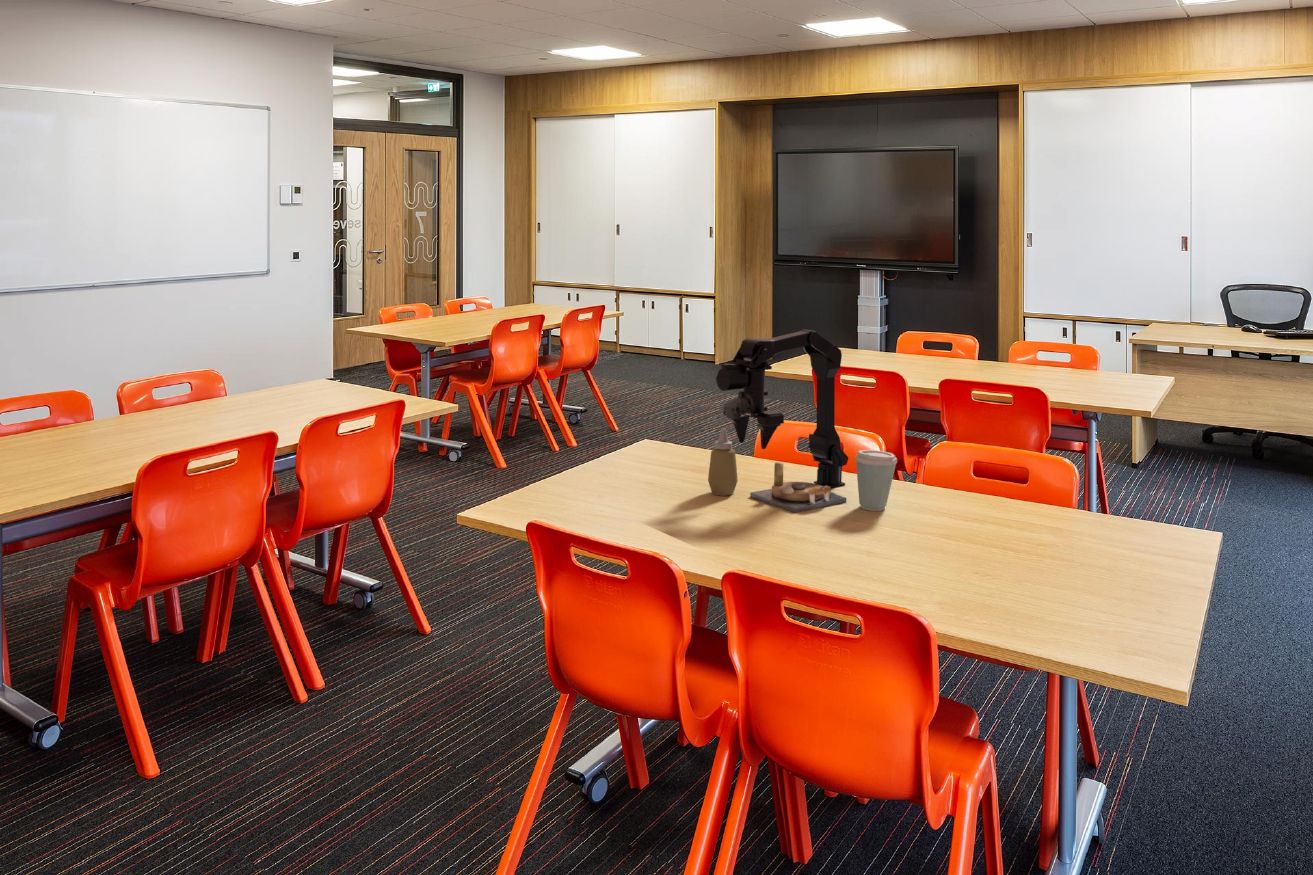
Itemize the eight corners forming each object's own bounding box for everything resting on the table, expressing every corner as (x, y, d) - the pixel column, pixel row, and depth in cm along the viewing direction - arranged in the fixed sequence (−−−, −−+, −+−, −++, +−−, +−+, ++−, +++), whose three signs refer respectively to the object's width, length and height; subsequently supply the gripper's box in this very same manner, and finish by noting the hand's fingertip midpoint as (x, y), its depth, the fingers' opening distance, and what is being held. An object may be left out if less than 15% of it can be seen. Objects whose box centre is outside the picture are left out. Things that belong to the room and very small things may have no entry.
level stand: (800, 487, 285) (801, 470, 284) (846, 502, 271) (847, 483, 270) (750, 496, 275) (750, 478, 274) (794, 512, 261) (795, 493, 260)
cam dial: (833, 492, 274) (834, 465, 273) (809, 504, 263) (810, 475, 262) (787, 484, 282) (787, 457, 281) (761, 495, 271) (761, 467, 270)
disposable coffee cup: (867, 500, 273) (870, 445, 269) (902, 508, 265) (906, 451, 262) (844, 507, 265) (846, 451, 262) (880, 516, 258) (883, 458, 255)
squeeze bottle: (737, 489, 282) (739, 426, 279) (737, 497, 275) (738, 432, 271) (708, 489, 283) (709, 425, 279) (707, 496, 275) (707, 431, 272)
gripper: (707, 385, 270) (706, 443, 273) (752, 395, 255) (750, 456, 258) (740, 381, 276) (739, 438, 279) (786, 391, 261) (784, 451, 264)
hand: (752, 445), depth 270 cm, fingers open, 9 cm apart
